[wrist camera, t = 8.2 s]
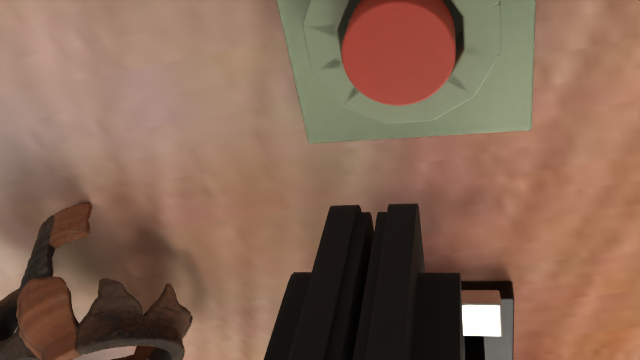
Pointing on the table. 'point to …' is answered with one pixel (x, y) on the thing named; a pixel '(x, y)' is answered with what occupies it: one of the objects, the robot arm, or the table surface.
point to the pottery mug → (100, 322)
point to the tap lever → (482, 313)
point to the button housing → (437, 110)
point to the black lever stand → (497, 352)
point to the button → (399, 49)
